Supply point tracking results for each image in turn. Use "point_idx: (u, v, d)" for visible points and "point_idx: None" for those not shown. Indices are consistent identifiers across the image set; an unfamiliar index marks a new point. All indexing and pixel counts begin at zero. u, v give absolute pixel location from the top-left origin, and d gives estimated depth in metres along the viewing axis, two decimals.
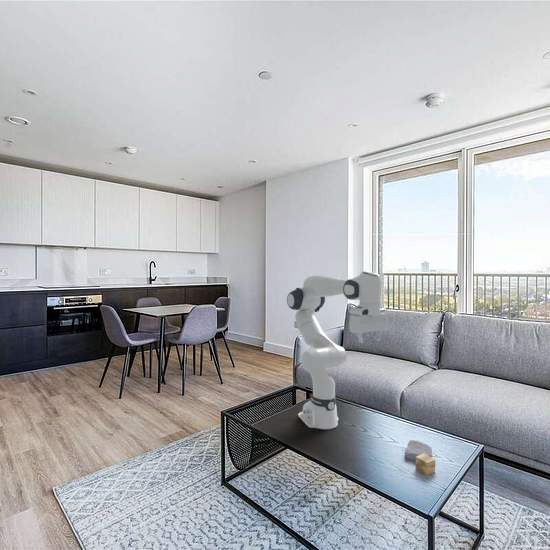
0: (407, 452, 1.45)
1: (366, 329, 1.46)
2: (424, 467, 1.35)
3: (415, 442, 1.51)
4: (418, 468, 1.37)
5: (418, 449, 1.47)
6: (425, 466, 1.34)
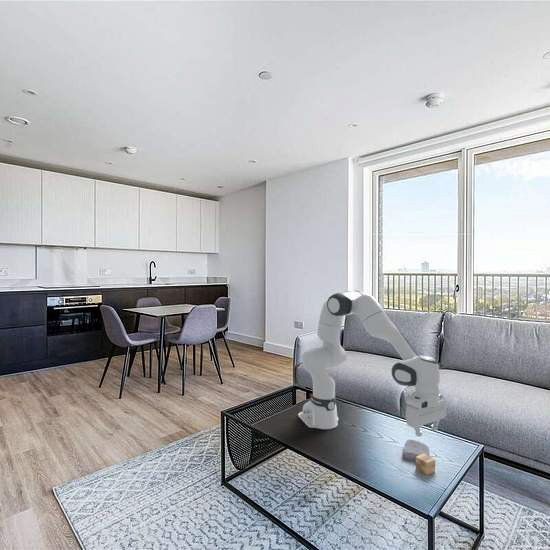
0: (405, 451, 1.45)
1: (425, 421, 1.33)
2: (424, 467, 1.35)
3: (412, 441, 1.52)
4: (418, 468, 1.37)
5: (416, 448, 1.47)
6: (425, 466, 1.34)
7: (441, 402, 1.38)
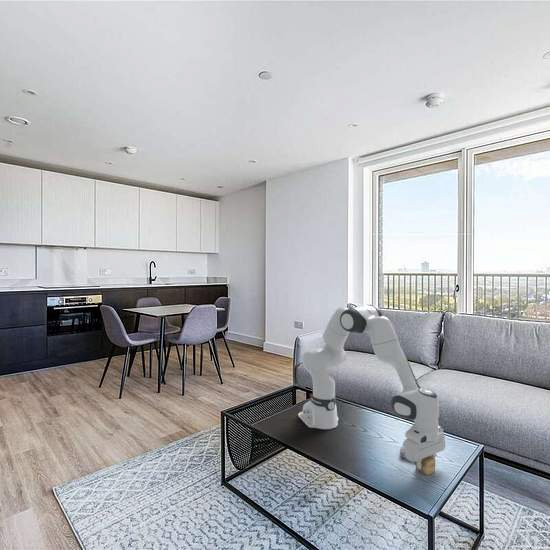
0: (402, 451, 1.46)
1: (424, 455, 1.34)
2: (424, 467, 1.35)
3: None
4: (418, 468, 1.37)
5: None
6: (425, 466, 1.34)
7: (440, 435, 1.38)
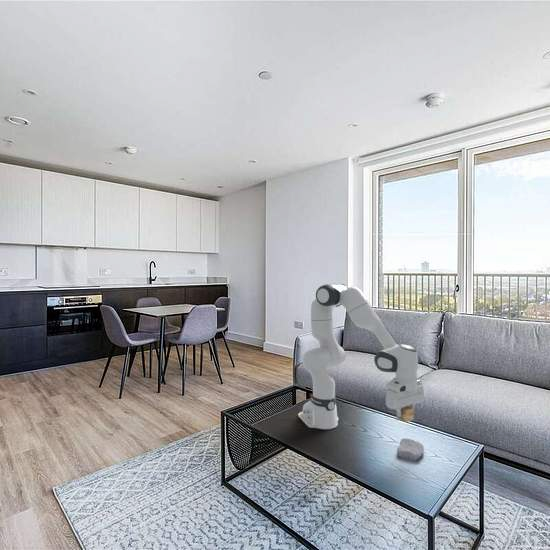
0: (399, 450, 1.47)
1: (403, 404, 1.46)
2: (403, 415, 1.47)
3: (407, 440, 1.53)
4: None
5: (410, 447, 1.48)
6: (404, 414, 1.47)
7: (419, 387, 1.51)
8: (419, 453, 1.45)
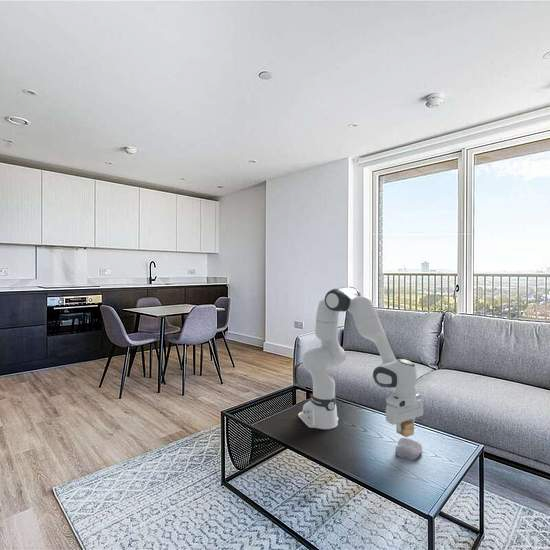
0: (398, 449, 1.47)
1: (403, 419, 1.47)
2: (403, 430, 1.48)
3: (405, 440, 1.53)
4: (398, 431, 1.50)
5: (408, 446, 1.49)
6: (404, 429, 1.47)
7: (418, 401, 1.52)
8: (417, 453, 1.45)
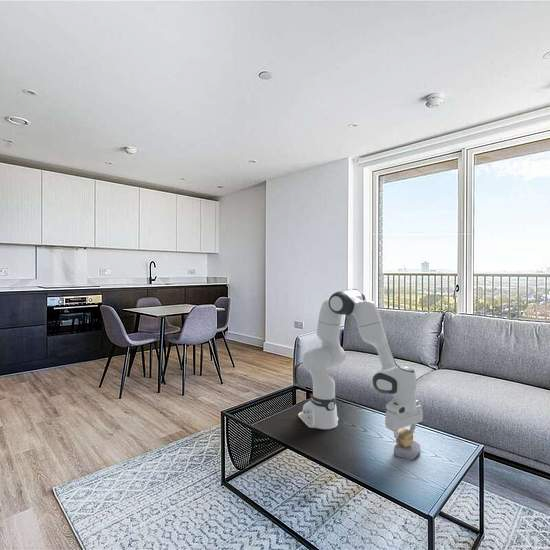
0: (396, 449, 1.47)
1: (402, 425, 1.47)
2: (403, 440, 1.48)
3: None
4: (398, 441, 1.50)
5: None
6: (404, 440, 1.47)
7: (418, 407, 1.52)
8: (416, 452, 1.46)
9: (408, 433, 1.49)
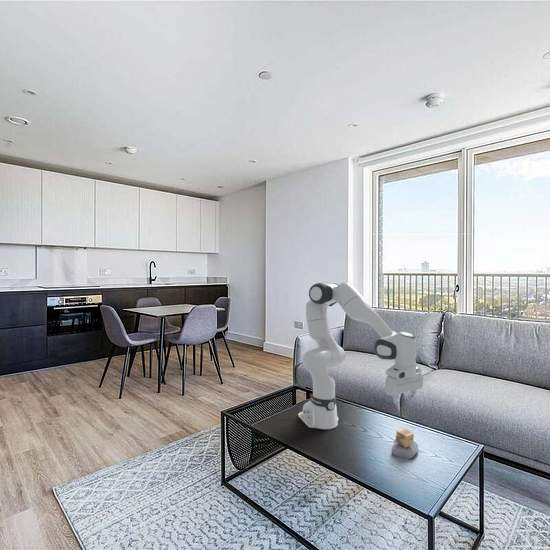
0: (394, 449, 1.48)
1: (402, 390, 1.48)
2: (403, 440, 1.48)
3: None
4: (398, 441, 1.50)
5: None
6: (404, 440, 1.47)
7: (418, 374, 1.52)
8: (413, 451, 1.46)
9: (409, 433, 1.49)
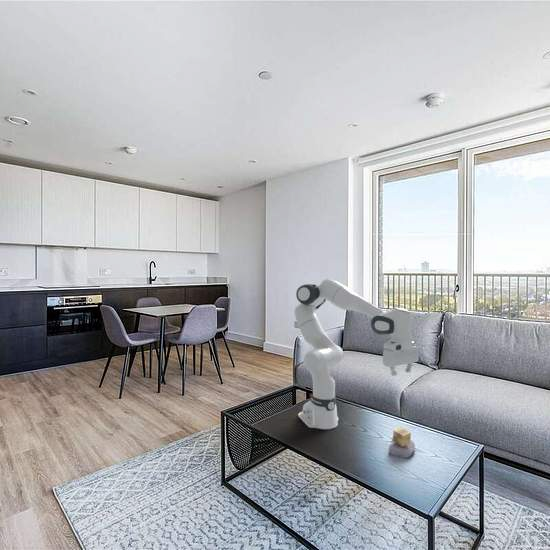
0: (391, 448, 1.48)
1: (399, 362, 1.56)
2: (400, 440, 1.48)
3: None
4: (395, 440, 1.51)
5: None
6: (401, 439, 1.48)
7: (414, 348, 1.61)
8: (411, 450, 1.47)
9: (406, 433, 1.49)
